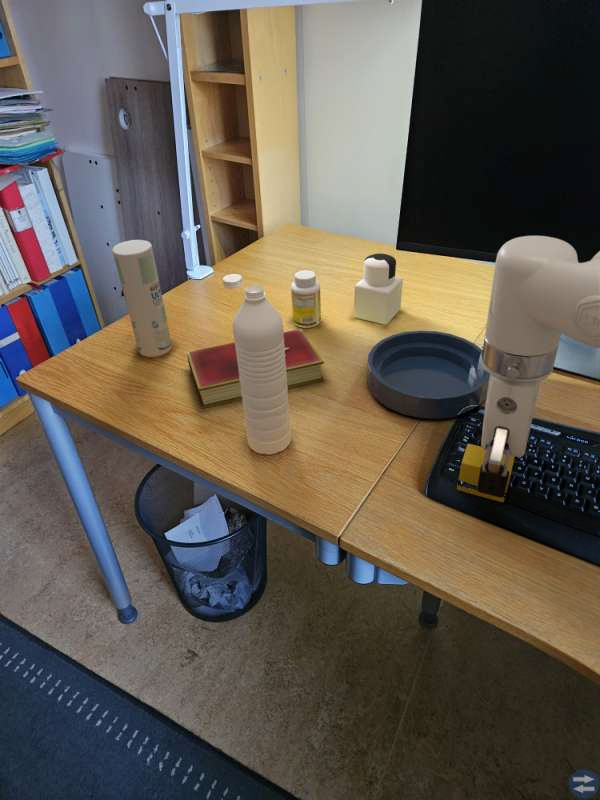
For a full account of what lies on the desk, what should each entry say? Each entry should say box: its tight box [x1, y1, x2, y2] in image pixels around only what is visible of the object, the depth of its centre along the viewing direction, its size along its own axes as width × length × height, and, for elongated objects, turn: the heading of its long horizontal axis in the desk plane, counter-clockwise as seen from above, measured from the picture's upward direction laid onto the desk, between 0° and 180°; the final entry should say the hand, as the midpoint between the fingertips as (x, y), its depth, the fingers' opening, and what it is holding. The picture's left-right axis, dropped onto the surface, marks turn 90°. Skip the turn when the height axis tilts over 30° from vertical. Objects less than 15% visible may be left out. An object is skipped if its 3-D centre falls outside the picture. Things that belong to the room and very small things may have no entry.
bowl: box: [366, 330, 490, 420], centre depth 92 cm, size 20×20×4 cm
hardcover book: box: [186, 328, 325, 409], centre depth 96 cm, size 12×21×4 cm, turn 109°
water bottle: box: [222, 273, 292, 455], centre depth 76 cm, size 9×6×25 cm
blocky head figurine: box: [353, 253, 404, 326], centre depth 109 cm, size 7×7×12 cm
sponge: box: [456, 443, 516, 503], centre depth 73 cm, size 6×4×5 cm, turn 66°
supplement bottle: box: [290, 269, 322, 329], centre depth 108 cm, size 6×6×10 cm
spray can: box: [111, 239, 173, 358], centre depth 99 cm, size 6×6×20 cm
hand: (496, 467), depth 71 cm, fingers open, 9 cm apart
